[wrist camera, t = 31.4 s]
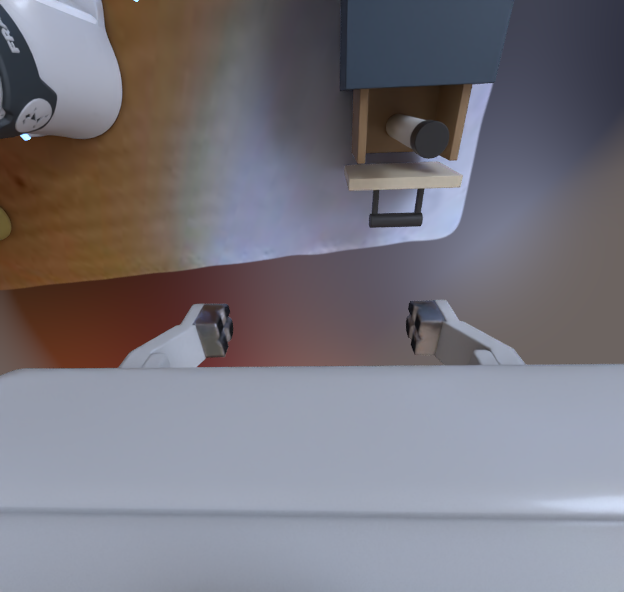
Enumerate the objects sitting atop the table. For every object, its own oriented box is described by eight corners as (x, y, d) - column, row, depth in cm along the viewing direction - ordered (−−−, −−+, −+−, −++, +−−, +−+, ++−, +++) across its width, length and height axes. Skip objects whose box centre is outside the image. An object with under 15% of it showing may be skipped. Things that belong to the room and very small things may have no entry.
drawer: (429, 211, 41) (450, 232, 35) (343, 213, 42) (347, 235, 35) (461, 30, 31) (498, 12, 25) (346, 36, 32) (353, 21, 25)
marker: (380, 125, 35) (408, 139, 24) (399, 107, 34) (438, 112, 23) (393, 143, 36) (426, 165, 25) (412, 126, 35) (456, 141, 24)
